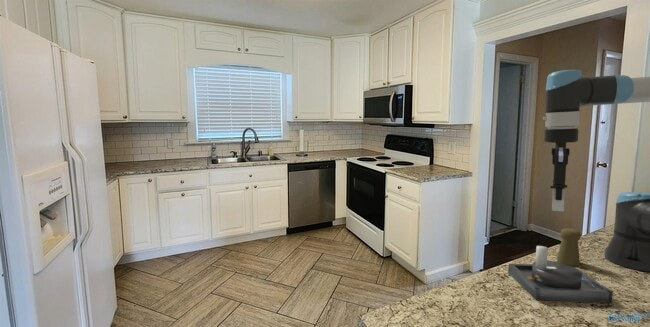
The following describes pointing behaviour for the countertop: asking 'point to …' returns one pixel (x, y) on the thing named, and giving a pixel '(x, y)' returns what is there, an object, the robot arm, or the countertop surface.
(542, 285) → the dark grey tray
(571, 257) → the cork
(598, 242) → the countertop surface
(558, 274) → the lever
